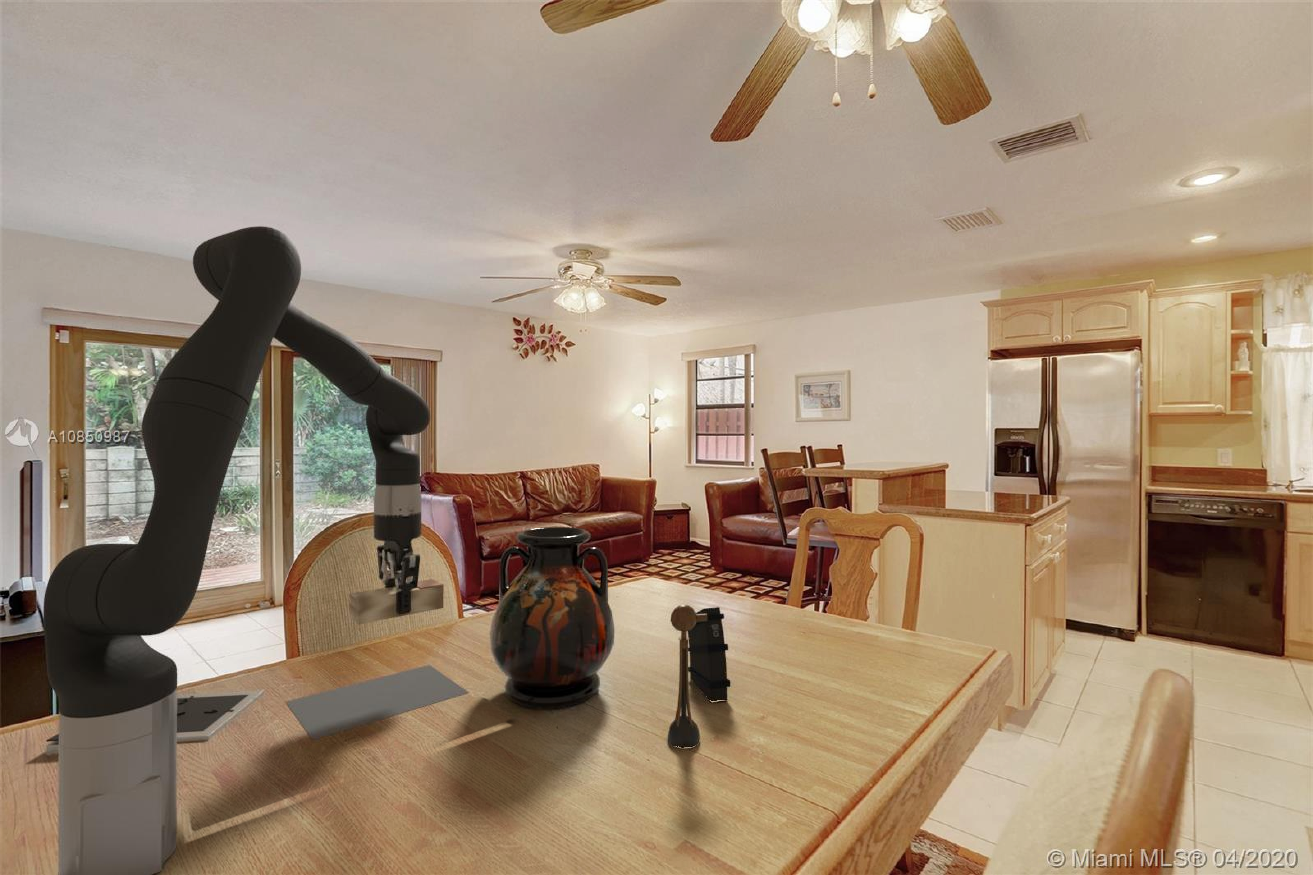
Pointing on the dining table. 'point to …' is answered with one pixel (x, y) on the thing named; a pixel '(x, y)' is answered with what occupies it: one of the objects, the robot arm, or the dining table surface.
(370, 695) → the rubber mat
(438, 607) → the beige wooden block
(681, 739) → the wooden tabletop sculpture
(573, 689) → the amphora vase
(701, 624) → the black banded case
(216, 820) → the dining table surface
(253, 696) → the picture frame
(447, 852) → the dining table surface
